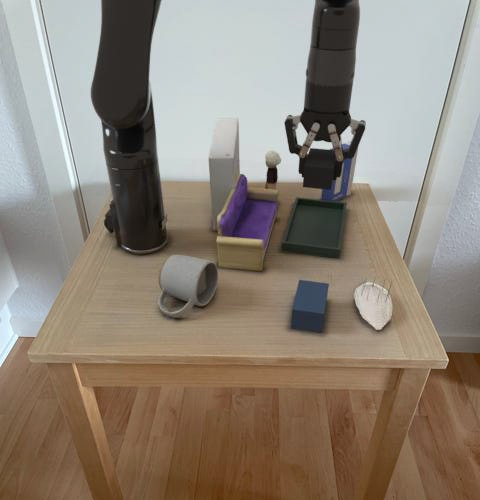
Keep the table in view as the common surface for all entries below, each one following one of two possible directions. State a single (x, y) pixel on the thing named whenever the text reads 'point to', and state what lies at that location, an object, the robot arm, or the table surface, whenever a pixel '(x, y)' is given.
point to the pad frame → (315, 227)
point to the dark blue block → (309, 306)
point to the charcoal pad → (319, 169)
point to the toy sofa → (246, 226)
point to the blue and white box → (342, 179)
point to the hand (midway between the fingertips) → (319, 176)
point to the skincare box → (223, 163)
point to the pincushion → (374, 304)
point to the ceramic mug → (187, 282)
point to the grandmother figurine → (272, 169)
